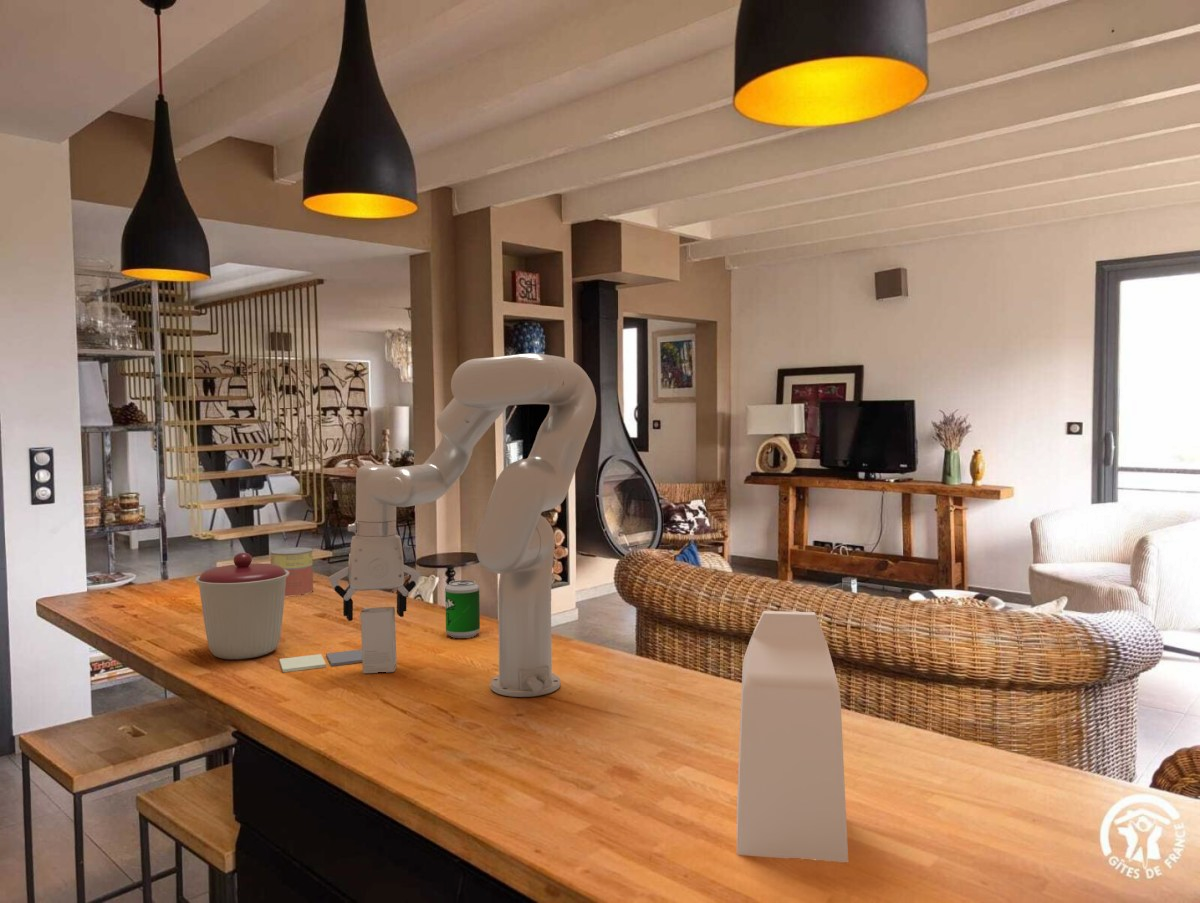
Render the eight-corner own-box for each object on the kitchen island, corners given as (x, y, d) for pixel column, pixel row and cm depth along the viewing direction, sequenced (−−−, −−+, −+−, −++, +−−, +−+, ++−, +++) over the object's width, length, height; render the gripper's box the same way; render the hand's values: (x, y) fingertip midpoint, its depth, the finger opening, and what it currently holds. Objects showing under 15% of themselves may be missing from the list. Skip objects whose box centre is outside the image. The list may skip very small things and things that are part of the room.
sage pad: (326, 667, 169) (326, 664, 169) (282, 672, 165) (282, 669, 165) (321, 656, 176) (321, 654, 176) (279, 661, 173) (279, 658, 172)
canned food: (318, 588, 248) (317, 546, 247) (307, 596, 236) (306, 553, 236) (278, 589, 247) (277, 547, 246) (265, 597, 236) (264, 553, 235)
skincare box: (397, 666, 169) (396, 605, 168) (394, 673, 164) (393, 610, 164) (365, 667, 168) (364, 606, 168) (361, 674, 164) (360, 611, 163)
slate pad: (372, 661, 172) (372, 658, 172) (331, 666, 169) (331, 663, 169) (365, 651, 180) (365, 648, 180) (326, 656, 176) (326, 653, 176)
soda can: (483, 631, 196) (482, 579, 195) (475, 640, 188) (474, 585, 188) (451, 631, 197) (450, 579, 196) (441, 639, 189) (441, 585, 189)
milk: (736, 854, 96) (736, 623, 94) (736, 808, 107) (736, 600, 106) (848, 862, 94) (849, 626, 93) (836, 814, 105) (837, 603, 104)
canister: (211, 671, 166) (208, 563, 166) (186, 652, 180) (184, 552, 179) (303, 654, 178) (301, 553, 177) (273, 637, 192) (271, 543, 191)
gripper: (331, 534, 158) (331, 625, 159) (425, 530, 165) (424, 618, 166) (326, 528, 165) (325, 616, 166) (416, 525, 172) (415, 609, 173)
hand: (375, 617), depth 166 cm, fingers open, 9 cm apart
